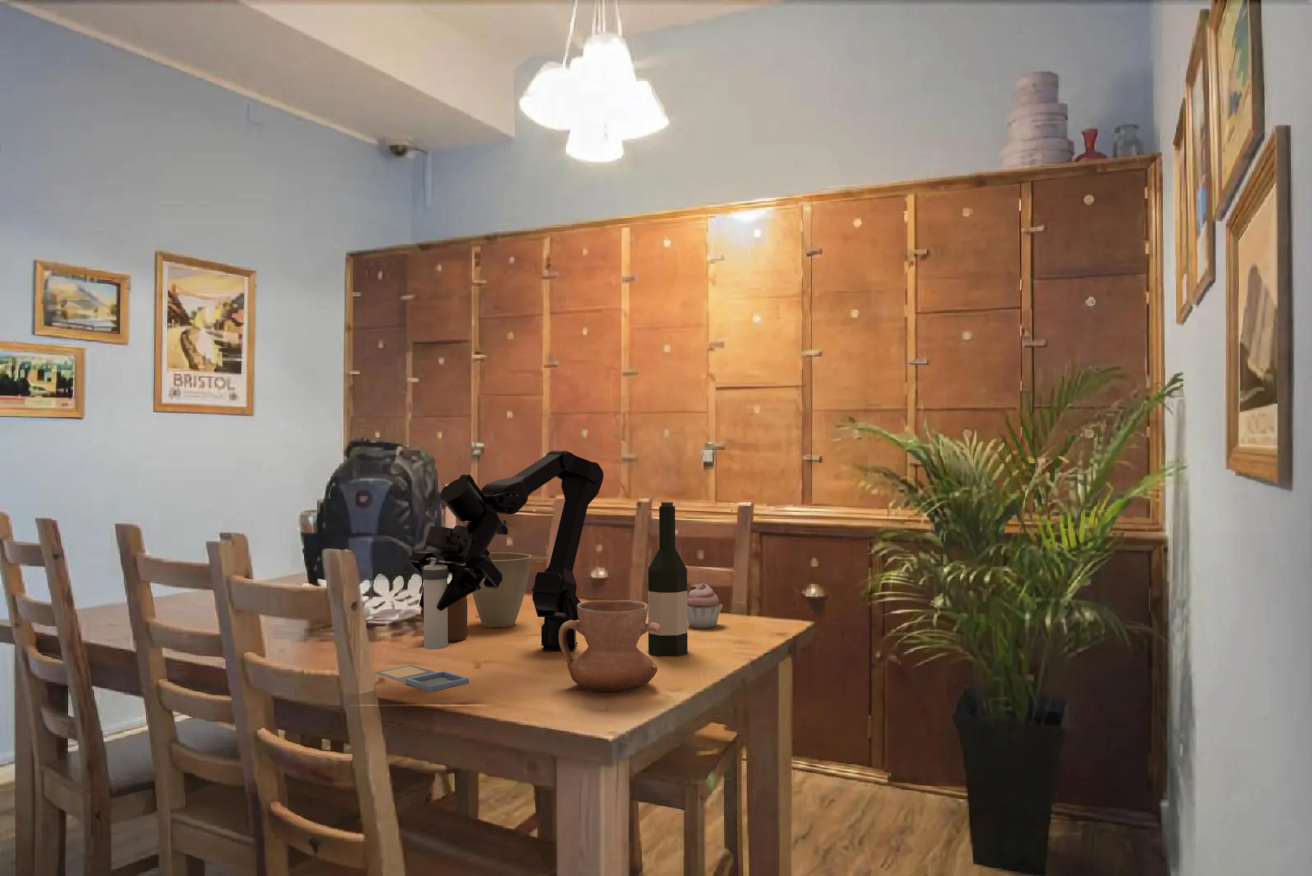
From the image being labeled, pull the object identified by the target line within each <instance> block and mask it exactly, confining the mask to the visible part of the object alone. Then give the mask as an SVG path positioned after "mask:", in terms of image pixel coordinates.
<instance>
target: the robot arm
mask: <svg viewBox="0 0 1312 876" xmlns="http://www.w3.org/2000/svg"><path fill="white" fill-rule="evenodd" d="M554 478H557V479H559V480H561V484H560V487H561V490H562V494H563V497H564V503H563V507H562V510H561V515H560V520H559V523H558V526H557V527H558V528H557V531H556V535H555V540H554V543H553V544H554V545H553V547H552V552H551V556H550V561H549V563H548V564H549V565H548V566H547V567H546V569H545V570H544V571H537V573H536V574H535V578H534V579H535V580H534V585H533V587H532V588H531V591H532V597H531V599H532V602H533V605H534V607H535V608H534V609H535V614H536V615H537V617H538V618H544V619H543V624H542V625H541V626H540V630H541V631H540V632H541V633H540V634H541V636H540V637H541V638H540V639H541V643H540V644H541V646H542V651H545V652H547V651H550V652H551V651H562V650H561V648H560V644H559V630H560V627H561V626H562V624H563V623H565V622H567V621H569V620H576V621H579V619H578V613H577V604H579V603H581V601H580V599H579V598H578V597H577V589H578V586H577V581H576V577H575V576H574V566H575V562H576V557H577V554H578V549H579V545H580V541H581V537H582V533H583V530H584V529H583V528H584V524H585V520H586V516H587V511H588V508H589V505H590V504H591V503H592V501H593V500H594V499H595V498H596V497H597V496H598V495H599V492H600V490H601V486H602V484H603V482H604V478H605V477H604V471H603V469H602V467H601V466H600V464H599V463H598V462H595V461H591V460H588V459H586V458H583V457H580V456H577V455H575V454H574V453H572V452H570V451H568V450H550V451H549V452H547V453H546V454H545V456H543V457H542V458H540V459H538V460H536V461H535V462H534V463H532V464H530V465H529V466H528V467H526V468H525V469H522V470H521V471H519V472H518V473H516V474H514V475H513V476H510V477H507V478H502V479H497V480H495V481H492V482H489V483H487V484H485V485H484V486H483V487H482V488H481V489H480V488H479V487H480V486H478V485H477V484H476V482H475V480H474V478H473V477H472V476H471V474H461V475H460V477H459V478H457V479H455V480H453V481H451V482H450V483H448V484H447V485H444V487H443V488H442V489H441V491H440V494H439V497H440V500H441V501H442V502H443V503H444V505H445V506H446V507H447V508H448V510H449V511H450V512H451V513H452V515H453V516H454V517H455V518H456V520H458V521H459V522H466V523H465V524H464V525H454V527H453V528H452V527H446V526H437V525H436V526H434V525H431V526H429V529H428V532H427V535H426V539H425V542H424V544H425V545H427V546H430V547H431V546H432V547H433V548H436V549H437V550H438V551H437V554H438V556H440V557H442V558H443V560H440V559H438V558H437V557H436V555H435V554H434V553H433V552H430V551H421V550H419V551H414V552H413V553H412V554H411V556H410V557H409V558H408V560H407V562H408V564H410V566H411V567H412V568H413V569H414V570H415V572H416V573H417V574H418V575H419V576H420V577H421V578H422V569H423V568H424V566H427V565H447V567H448V574H449V575H451V580H450V581H449V583H447V588H446V590H445V592H444V594H443V595H442V597H441V599H440V601H439V603H438V605H437V609H438V610H439V611H442V610H444V609H445V608H447V607H448V606H450V605H452V604H453V603H455V602H457V601H458V600H460V599H461V598H463V597H465V596H467V597H468V596H469V595H471V594H472V592H474V591H476V590H480V589H481V587H480V585H479V584H480V583H481V581H482V580H484V579H485V577H486V579H485V580H484V585H485V587H486V588H494V589H497V588H498V587H499V585H500V583H501V582H502V572H501V571H500V570H499V569H498V567H497V566H496V565H495V564H494V562H493V561H492V560H491V559H490V558H489V557H488V556H489V554H490V553H491V552H490V551H489V550H488V548H489V547H490V545H491V543H492V541H494V538H495V537H496V536H497V535H502V536H503V535H504V536H507V535H509V529H508V525H507V520H506V519H501V518H500V516H499V515H515V514H517V513H518V512H519V511H520V510H521V509H522V508H523V507H524V506H525V505H526V504H527V503H528V499H529V496H530V495H531V494H533V493H534V492H535V491H537V490H539V489H540V488H541V487H542V486H544V485H545V484H548V482H550V481H551V480H553V479H554ZM418 606H419V607H420V608H424V585H423V586H422V592H421V595H420V599H419V604H418ZM566 635H567V636H566V639H567V645H568V648H569V651H575V650H576V648H577V647H578V641H577V631H576V630H575V629H572V628H570V629H568V631H567V634H566Z"/></svg>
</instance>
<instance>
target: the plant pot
mask: <svg viewBox="0 0 1312 876" xmlns="http://www.w3.org/2000/svg"><path fill="white" fill-rule="evenodd" d="M489 553H490V554H489V556H488V557H489V558H490V559H491V560H492V561H493V562H494V564H495V565H496V566H497V567H498V569H499V570H500V571H501V572H502V582H501V583H500V585H499V587H498V588H497V589H494V588H486V587H485V585H484V580H485V579H486V577H485V579H484V580H482V581H481V583H480V584H479V585H480V587H481V589H480V590H476V591H474V592H472V593H471V594H472V598H473V600H474V601H473V602H474V605H475V608H476V612H477V614H478V617H479V620H480V623H481V624H482V626H483V627H485V628H490V627H503V628H508V627H507V626H510V627H513V626H514V625H515V623H516V621H517V618H518V616H519V613H520V609H521V607H522V603H523V600H524V596H525V593H526V589H527V585H528V582H529V581H528V580H529V575H530V570H531V564H532V563H531V562H532V558H533V557H532V555H531V554H529V553H528V554H527V553H519V552H489Z"/></svg>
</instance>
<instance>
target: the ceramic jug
mask: <svg viewBox="0 0 1312 876" xmlns="http://www.w3.org/2000/svg"><path fill="white" fill-rule="evenodd" d="M580 602H581V601H580ZM577 613H578V619H579V620H569V621H567V622H565V623H563V624H562V626H561V627H560V630H559V644H560V648H561V650H560V651H561V652H562V654H563V656H564V658H565V660H566V663H567V664H566V665H567V667H568V668H567V669H568V671H569V675H570V678H571V679H572V681H573V682H575V683H576V684H577V685H579V686H580V687H581V688H584V689H585V690H588V691H591V692H592V691H593V692H597V693H604V694H617V693H619V694H620V693H626V692H631V691H634V690H637V689H641V688H642V687H644V686H645V685H647V684H648V683H650V682H651V680H652V679H654V677H655V675H656V674H657V672H658V669H659V667H658V666H657V665H656V664H655V663H654V661H653V660H652V659H651V657H649V656H648V655H647V654H645V653H644V652H642V650H641V649H639V648H638V647H637V645H638V642H639V640H640V638H641V637H642V636H643V635H644V634H646V633H648V631H655V632H657V633H658V630H659V629H660V628H661V626H660V625H659V624H657V623H653V622H652V623H648V622H647V619H648V603H646V602H643V601H635V600H629V599H620V600H605V599H604V600H591V601H590V600H587V601H583V602H581V603H579V604H577ZM646 622H647V623H646ZM570 628H572V629H575V630H576V632H578V633H579V634H580V635H582V636H583V637H584V639H585V641H586V643H587V646H588V647H586V649H585V651H583V652H582V653H581V654H579V655H578V656H577V657H576V658H575V659H574V658H573V656H572V654H571V652H570V651H571V650H569V648H568V645H567V639H566V636H567V635H566V634H567V631H568V629H570Z"/></svg>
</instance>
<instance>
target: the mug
mask: <svg viewBox="0 0 1312 876" xmlns="http://www.w3.org/2000/svg"><path fill="white" fill-rule="evenodd" d="M420 608H421V607H420ZM420 617H421V619H422V621H423V622H424V608H421V609H420ZM467 636H468V595H467V596H465V597H463V598H461V599H460V600H458V601H457V602H455V603H453V604H452V605H450V606H448V643H451V642H452V643H455V642H461V641H463V639H464V640H465V639H466V638H467ZM460 640H461V641H460ZM454 641H455V642H454Z"/></svg>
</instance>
